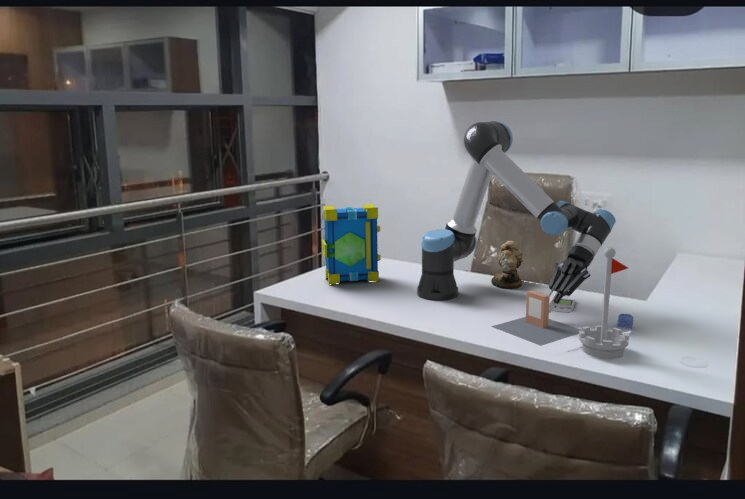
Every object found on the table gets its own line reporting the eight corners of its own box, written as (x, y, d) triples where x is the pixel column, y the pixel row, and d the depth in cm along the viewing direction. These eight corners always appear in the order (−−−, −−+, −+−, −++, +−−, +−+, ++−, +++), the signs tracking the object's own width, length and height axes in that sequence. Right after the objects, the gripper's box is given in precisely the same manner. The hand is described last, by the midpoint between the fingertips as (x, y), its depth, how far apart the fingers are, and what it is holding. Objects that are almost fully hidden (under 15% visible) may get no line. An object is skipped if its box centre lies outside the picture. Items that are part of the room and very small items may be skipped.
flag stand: (572, 354, 175) (578, 249, 168) (585, 339, 185) (592, 240, 179) (621, 363, 168) (630, 255, 161) (632, 348, 178) (640, 245, 172)
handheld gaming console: (540, 308, 211) (546, 296, 225) (540, 312, 211) (546, 300, 225) (571, 311, 207) (575, 299, 221) (571, 316, 208) (575, 303, 221)
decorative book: (322, 277, 257) (320, 205, 251) (377, 274, 261) (376, 203, 255) (326, 287, 244) (323, 211, 237) (384, 283, 248) (383, 208, 241)
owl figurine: (489, 276, 255) (490, 235, 252) (518, 277, 254) (520, 236, 251) (493, 289, 238) (495, 245, 234) (525, 289, 237) (527, 245, 233)
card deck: (525, 321, 199) (526, 291, 197) (530, 320, 201) (532, 290, 199) (542, 328, 194) (544, 297, 192) (548, 326, 195) (549, 295, 193)
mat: (490, 328, 196) (490, 326, 196) (534, 315, 207) (534, 314, 207) (540, 347, 180) (540, 345, 180) (585, 333, 191) (585, 331, 191)
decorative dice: (630, 330, 192) (631, 318, 192) (616, 328, 194) (618, 316, 193) (632, 326, 196) (633, 314, 195) (619, 324, 198) (620, 312, 197)
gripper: (605, 262, 201) (568, 321, 195) (572, 254, 211) (536, 311, 206) (596, 248, 197) (558, 308, 191) (562, 241, 207) (525, 298, 202)
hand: (547, 309), depth 199 cm, fingers closed
